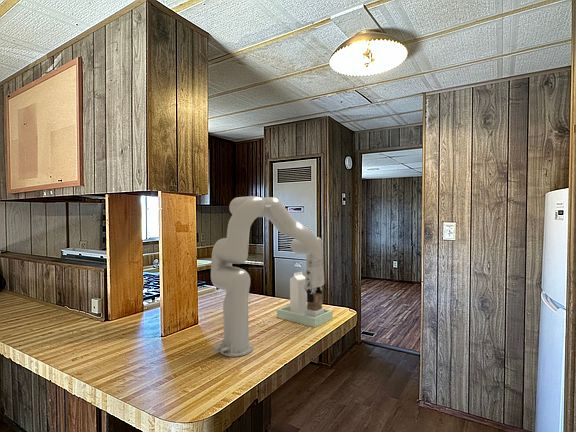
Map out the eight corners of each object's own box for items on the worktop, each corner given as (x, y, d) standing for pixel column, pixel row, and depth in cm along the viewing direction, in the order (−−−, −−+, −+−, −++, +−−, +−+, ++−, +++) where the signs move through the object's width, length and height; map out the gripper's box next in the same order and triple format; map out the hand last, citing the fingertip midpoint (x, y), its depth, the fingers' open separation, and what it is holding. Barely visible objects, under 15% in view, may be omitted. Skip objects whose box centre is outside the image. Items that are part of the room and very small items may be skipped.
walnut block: (315, 311, 156) (315, 296, 156) (307, 309, 159) (307, 294, 159) (321, 308, 160) (321, 294, 159) (313, 306, 163) (313, 292, 163)
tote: (314, 327, 151) (314, 318, 151) (277, 317, 166) (276, 309, 166) (332, 318, 162) (332, 310, 162) (295, 310, 177) (295, 302, 177)
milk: (307, 315, 168) (306, 272, 167) (298, 318, 163) (298, 273, 163) (298, 313, 172) (298, 270, 172) (290, 315, 168) (289, 272, 167)
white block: (315, 324, 155) (315, 311, 155) (305, 321, 159) (305, 309, 159) (324, 320, 160) (324, 308, 160) (313, 318, 164) (313, 306, 164)
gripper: (309, 266, 150) (310, 306, 150) (330, 261, 163) (331, 297, 164) (296, 264, 155) (297, 303, 155) (317, 260, 168) (318, 295, 168)
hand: (314, 300), depth 159 cm, fingers open, 6 cm apart
